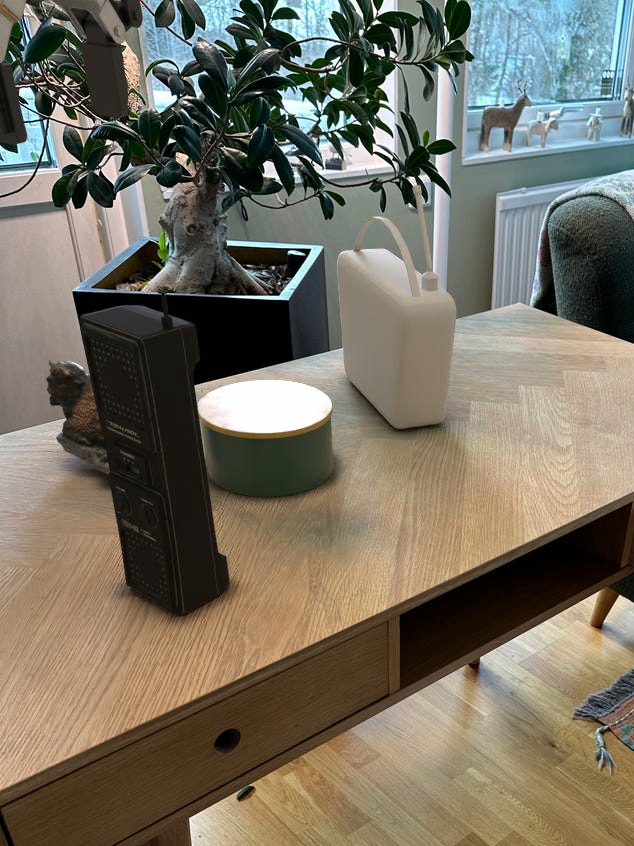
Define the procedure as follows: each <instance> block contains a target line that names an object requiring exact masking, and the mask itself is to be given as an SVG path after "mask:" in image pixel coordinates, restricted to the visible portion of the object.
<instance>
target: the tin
mask: <svg viewBox="0 0 634 846" xmlns="http://www.w3.org/2000/svg"><path fill="white" fill-rule="evenodd" d="M197 407H198V414H199V421H200V426H201V433H202V440H203V447H204V455H205V462H206V469H207V475H208V477H209V478H210V479H211V481H212V482H213V483H214V484H215V485H216V486H218V487H220V488H221V489H223V490H225V491H227V492H230V493H234V494H238V495H243V496H246V497H256V498H258V497H259V498H276V497H285V496H286V497H287V496H292V495H297V494H301V493H305V492H307V491H310V490H312V489H315V488H318V487H319V486H320V485H322V484H324V483H325V482H326V481H327V480H328V479H329V478H330V477H331V475H332V474H333V470H334V453H333V431H332V429H333V428H332V416H333V413H334V411H333V410H334V408H333V401H332V400H331V398H330V397H329V396H328V395H327V394H326V393H325V392H324V391H322V390H320V389H318V388H316V387H314V386H311V385H307V384H304V383H300V382H293V381H287V380H279V379H278V380H275V379H260V380H258V379H257V380H246V381H240V382H236V383H231V384H227V385H224V386H221V387H217V388H216V389H213V390H212V391H210V392H208V393H206V394H205V395H203V396H202V398H200V399H199V401H198V402H197Z"/></svg>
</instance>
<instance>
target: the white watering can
mask: <svg viewBox="0 0 634 846" xmlns="http://www.w3.org/2000/svg"><path fill="white" fill-rule="evenodd" d="M412 192H413V194H414V198H415V202H416V209H417V213H418V214H417V215H418V220H419V227H420V232H421V233H420V234H421V239H422V244H423V250H424V256H425V257H424V258H425V262H426V263H425V264H426V268H427V270H426V271H425V272H424V273H420V272H419V271H418V270H416V269H415V265H414V263H413V259H412V257H411V254H410V250H409V247H408V245H407V243H406V242H405V239H404V238H403V236H402V234H401V232H400V230H399V228H398V227H396V225H394V223H393V222H392V221H391V220H390V219H389V218H387V217H382V216H370V217H369V218H368V219H366V220H364V221H363V222H362V224H361V226H360V227H359V229H358V231H357V233H356V235H355V239H354V244H353V247H352V249H350V250H343V251H341V252H340V253H339V255H338V256H337V261H336V273H337V287H338V301H339V312H340V313H339V314H340V329H341V341H342V354H343V368H344V372H345V373H344V374H345V376H346V378H347V379H348V380H349V381H350V382H351V383H352V384H353V385H354V386H355V388H356V389H357V390H358V391H359V392H360V393H361V394H362V395H363V396H364V397H365V398H366V399H367V401H369V402H370V404H371V405H372V406H373V407H374V408H375V409H376V410H377V411H378V412H379V413H380V414H381V415H382V417H383V418H384V419H385V420H386V421H387V422H388V423H389V424H390V425H391V426H392V427H393V428H395V429H397V430H403V429H411V428H417V427H425V426H432V425H438V424H441V423H442V422H443V421H444V420H445V418H446V416H447V415H446V414H447V406H448V397H449V388H450V387H449V386H450V380H451V378H450V377H451V370H452V361H453V352H454V351H453V350H454V342H455V341H454V340H455V331H456V325H457V324H456V323H457V305H456V302H455V299H454V298H453V296H452V295H451V294H450V293H449V292H448V291H446V290H444V289H443V288H442V287H440V286H439V276H438V274H436V273H435V272H434V267H433V261H432V255H431V249H430V242H429V237H428V230H427V224H426V218H425V212H424V206H423V200H422V193H423V192H422V187H421V184H417V185H413V186H412ZM374 221H380V222H381V223H382V224H383V225H384V226H385V227H386V228H387V229H388V230H389V231H390V233H391V235H392V237H393V239H394V241H395V243H396V245H397V246H398V248H399V252H400V254H401V257H402V258H401V259H400V258H399V257H398V256H396V255H395V254H394V253H393V252H392V251H390V250H388V249H385V248H370V249H369V248H368V249H367V248H366V249H362V245H363V241H364V238H365V235H366V232H367V230H368V229H369V227H370V226H371V223H373V222H374Z"/></svg>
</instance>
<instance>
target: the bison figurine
mask: <svg viewBox="0 0 634 846" xmlns="http://www.w3.org/2000/svg"><path fill="white" fill-rule="evenodd" d="M48 365H49V367H50V368H49V373H50V374H49V375H48V376H47V377H46V378H45V380H46V382H47V388H46V392H47V393H48V394H49V395H50V396H49V398H48V399H49V405H50V406H51V407H55V406H59V407H61V409H62V413H63V416H64V418H65V420H64V421H63V423H62V430H61V432H60V433H58V434H57V435H56V438H55V439H56V441H57V443H58V444H60V446H61V447H62V449H63V450H64V452H66V453H68V454H70V455H73V456H75V457H77V458H79V459H80V460H83V461H85V462H87V463H88V464H89V465H92V466H95V468H96V470H97V471H98V472H101V473H104V474H106V475H108V476H109V473H110V469H109V464H108V458H107V453H106V448H105V443H104V438H103V433H102V428H101V427H100V422H99V417H98V413H97V408H96V403H95V398H94V394H93V389H92V384H91V379H90V374H87V373H86V370H85V369H84V367H82V366H81V365H79V364H77V363H76V362H73V361H70V360H62V361H58V362H53V361H51V359H48Z"/></svg>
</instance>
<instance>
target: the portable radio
mask: <svg viewBox="0 0 634 846" xmlns="http://www.w3.org/2000/svg"><path fill="white" fill-rule="evenodd" d="M156 292H157V294H159V295H160V300H161V306H162V312H161V311H159V310H156V309H152V308H150V307H147V306H144V305H140V304H138V305H137V304H135V305H133V304H132V305H117V306H113V307H110V308H106V309H102V310H98V311H94V312H90V313H86V314H83V315H80V316H79V324H80V328H79V332H80V335H81V340H82V345H83V351H84V355H85V359H86V364H87V369H88V375H90V379H91V384H92V389H93V394H94V398H95V403H96V408H97V413H98V417H99V422H100V427H101V428H102V433H103V438H104V443H105V448H106V453H107V458H108V464H109V469H110V473H109V475H108V482H109V487H110V493H111V499H112V504H113V509H114V515H115V520H116V525H117V531H118V537H119V544H120V550H121V557H122V564H123V571H124V577H125V585H126V586H127V587H129V588H130V589H132V590H133V591H136V592H137V593H139V594H140V595H143V596H144V597H146V598H148V599H150V600H152V601H154V602H155V603H157V604H159V605H160V606H163V607H165V608H166V609H168V610H169V611H172V612H174V613H176V614H177V615H187V614H189V613H190V612H192V611H194V610H196V609H198V608H199V607H201V606H203V605H204V604H206V603H208V602H210V601H212V600H213V599H215V598H217V597H218V596H219V595H221V594H222V593H223V592H225V590H226V589H227V588H228V586H229V585H231V583H230V582H231V581H230V573H229V566H228V558H227V555H225V554H223V553H221V552H219V546H218V539H217V535H216V534H217V533H216V528H215V527H216V526H215V519H214V513H213V508H212V500H211V491H210V485H209V476H208V469H207V462H206V455H205V448H204V441H203V434H202V427H201V420H200V419H199V414H198V407H197V406H198V401H197V393H196V387H195V379H194V370H195V368H196V367H195V366H196V365H197V364H198V363H199V362H200V361H201V355H200V348H199V347H200V346H199V340H198V339H199V338H198V332H197V327H196V324H194V322H190V321H187V320H186V319H182V318H179V317H176V316H173V315H170V314H169V308H168V302H167V294H168V290H167V289H159V290H157V291H156Z"/></svg>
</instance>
